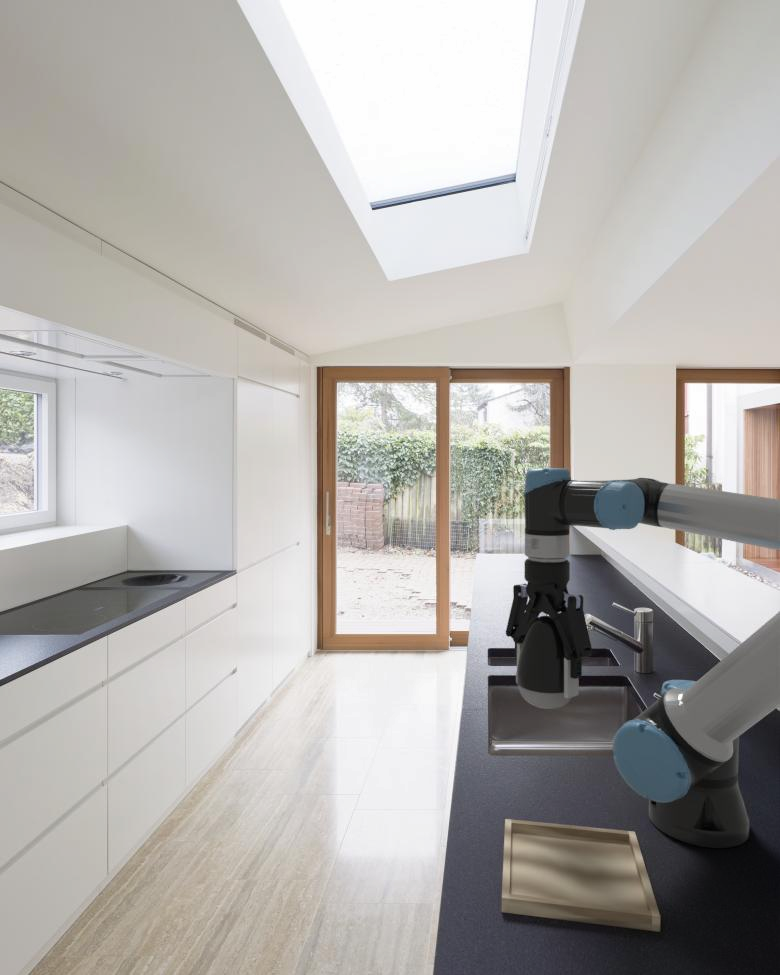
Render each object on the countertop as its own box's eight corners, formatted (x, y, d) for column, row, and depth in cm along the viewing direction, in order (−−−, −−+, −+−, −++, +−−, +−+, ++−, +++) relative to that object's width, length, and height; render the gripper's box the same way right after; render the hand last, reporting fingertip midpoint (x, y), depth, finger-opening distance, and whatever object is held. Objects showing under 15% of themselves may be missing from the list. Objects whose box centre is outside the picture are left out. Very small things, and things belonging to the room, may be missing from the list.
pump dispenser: (578, 696, 120) (578, 611, 120) (575, 717, 110) (575, 624, 110) (519, 690, 123) (520, 607, 123) (512, 710, 113) (512, 620, 113)
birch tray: (505, 830, 110) (505, 818, 110) (634, 844, 106) (634, 831, 106) (501, 912, 90) (501, 897, 90) (660, 931, 87) (660, 916, 87)
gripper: (485, 553, 123) (485, 674, 124) (585, 569, 104) (584, 711, 105) (515, 549, 127) (515, 666, 128) (616, 564, 108) (615, 701, 109)
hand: (546, 687), depth 117 cm, fingers closed on pump dispenser, 10 cm apart
